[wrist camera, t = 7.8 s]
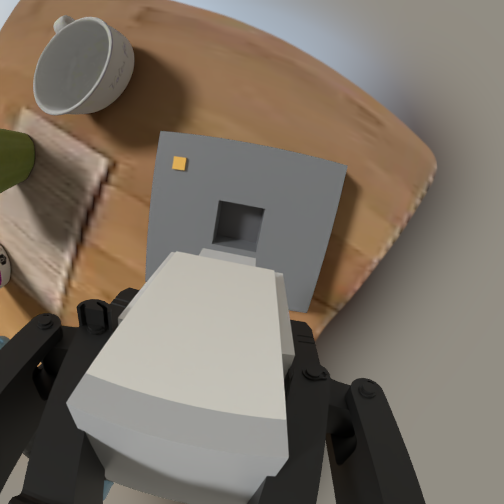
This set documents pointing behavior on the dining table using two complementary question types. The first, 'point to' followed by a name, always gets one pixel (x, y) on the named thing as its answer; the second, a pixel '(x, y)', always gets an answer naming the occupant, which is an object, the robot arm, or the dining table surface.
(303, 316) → the dining table surface
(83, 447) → the robot arm
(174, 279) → the plug
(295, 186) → the plate
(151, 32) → the dining table surface
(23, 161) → the plant pot
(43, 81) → the teacup
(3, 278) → the supplement can
